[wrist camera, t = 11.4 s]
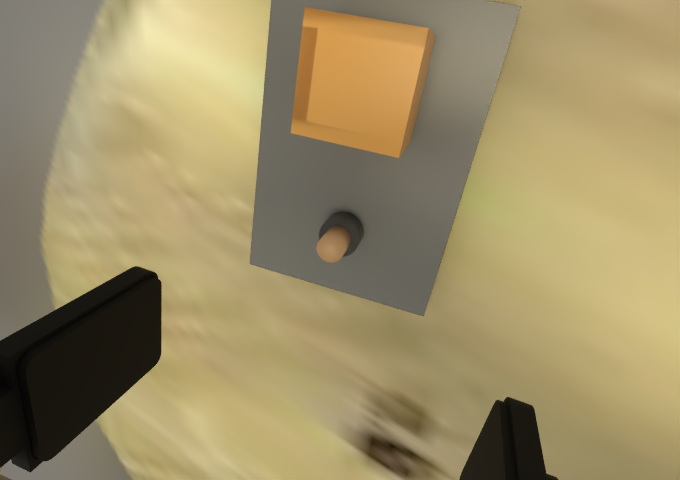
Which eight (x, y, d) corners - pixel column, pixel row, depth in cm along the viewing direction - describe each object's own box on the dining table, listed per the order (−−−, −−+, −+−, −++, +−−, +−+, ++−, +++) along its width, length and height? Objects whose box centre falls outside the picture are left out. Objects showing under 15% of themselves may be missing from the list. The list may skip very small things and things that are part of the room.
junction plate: (516, 10, 23) (531, -5, 18) (425, 302, 32) (418, 345, 27) (287, -26, 25) (245, -48, 21) (260, 253, 34) (226, 284, 29)
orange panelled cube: (435, 35, 23) (429, 28, 18) (410, 142, 25) (399, 158, 21) (334, 18, 24) (304, 6, 19) (319, 122, 26) (290, 133, 22)
